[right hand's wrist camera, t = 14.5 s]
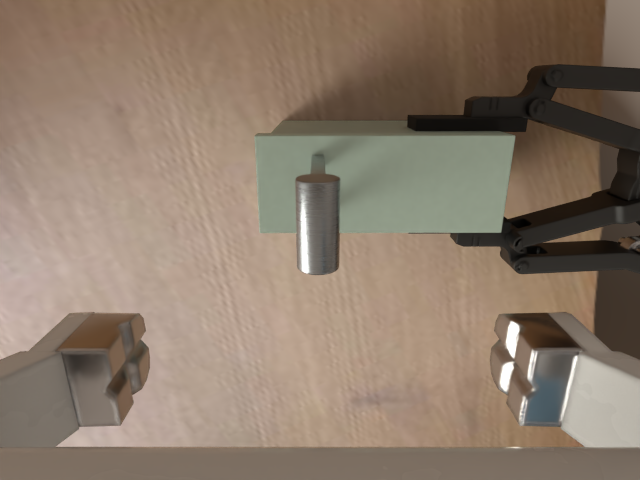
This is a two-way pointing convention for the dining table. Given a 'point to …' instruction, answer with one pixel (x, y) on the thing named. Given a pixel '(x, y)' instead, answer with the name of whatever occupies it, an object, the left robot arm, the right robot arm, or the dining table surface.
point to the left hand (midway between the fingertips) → (408, 174)
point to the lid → (378, 186)
